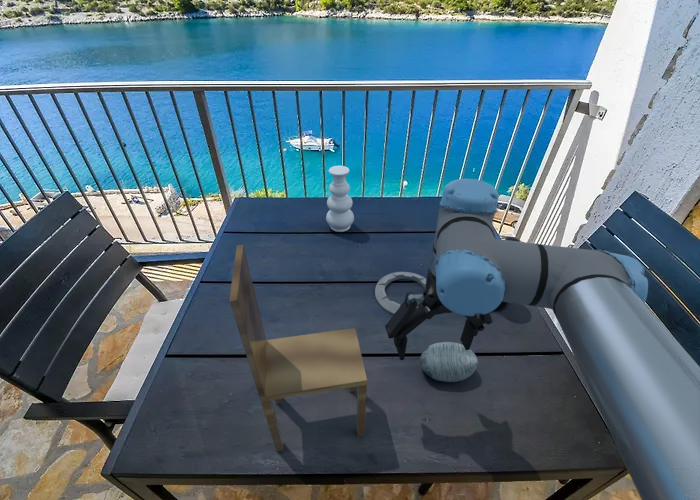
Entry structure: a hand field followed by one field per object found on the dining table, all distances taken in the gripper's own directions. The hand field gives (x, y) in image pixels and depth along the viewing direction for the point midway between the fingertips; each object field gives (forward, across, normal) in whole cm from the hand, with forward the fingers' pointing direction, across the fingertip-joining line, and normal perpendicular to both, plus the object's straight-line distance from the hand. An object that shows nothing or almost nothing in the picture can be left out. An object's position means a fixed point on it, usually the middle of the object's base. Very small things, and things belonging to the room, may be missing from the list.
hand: (432, 349), depth 70 cm
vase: (+20, +8, -74) cm, 77 cm away
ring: (+20, -7, -34) cm, 40 cm away
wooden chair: (+20, +24, 0) cm, 31 cm away
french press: (+20, -32, -27) cm, 46 cm away
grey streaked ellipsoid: (+20, -9, -6) cm, 23 cm away
